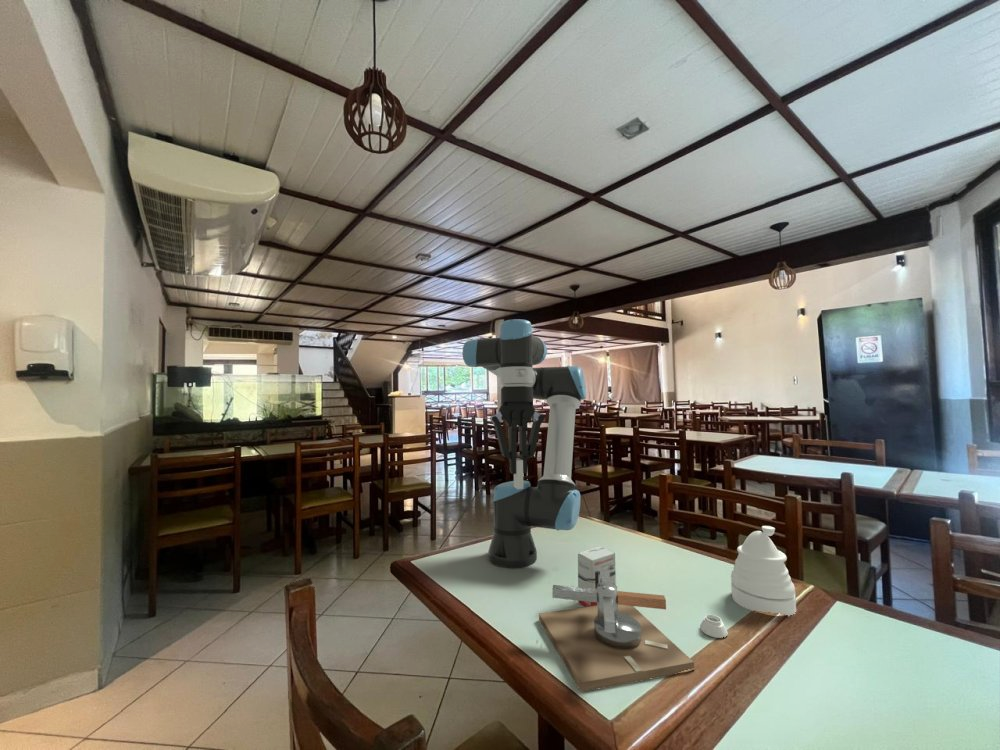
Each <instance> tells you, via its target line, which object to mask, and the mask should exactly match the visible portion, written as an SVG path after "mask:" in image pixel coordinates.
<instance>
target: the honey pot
mask: <svg viewBox="0 0 1000 750" xmlns="http://www.w3.org/2000/svg"><path fill="white" fill-rule="evenodd" d="M761 529H762V531H761V530H754V531H752V532H750V534H749V535H748V536H747V537H745V538H746V539H745V540H744V542H743V544H741V545H739V546H737V549H736V551H737V552H738V555H737V558H735V559H734V561H735V562H734V564H733V570H731V574H730V581H731V582H730V587H731V598H732V600H733V601H734V602H735V603H736V604H737V603H738V605H739V606H740V607H742V608H744V607H745V608H744V609H746V608H748V609H750V610H756V611H762V612H771V613H780V614H785V615H788V617H791V616H790V615H792V616H794V615H795V614H796V613H797V601H796V587H795V584H794V583H793V582H792V578H791V576H790V574H789V570H788V568H787V567H786V565H785V562H786V561H788V560H787V559H788V557H787V555H786V554H785V553H784V552H782V551H781V550H779V549H777V547H776V545H775V544H774V542H773V541H772V539H771V538H770V537H771V536H773V535H774V534H775V531H776V528H775V527H773V526H771V525H762V526H761ZM748 609H747V610H748ZM750 610H749V611H750ZM795 612H796V613H795ZM793 614H794V615H793Z"/></svg>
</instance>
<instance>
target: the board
mask: <svg viewBox="0 0 1000 750" xmlns="http://www.w3.org/2000/svg"><path fill="white" fill-rule="evenodd" d="M618 612H619V613H623V614H626V615H629V616H631V617H633V618H634V619H636V620H637V621H638V622H639V624H640V626H641V642H640V643H639V644H638V645H637V646H635V647H632V648H616V647H612V646H609V645H607V644H605V643H603V642H601V641H600V640H599V639H598V638H597V637H596V635H595V631H594V619H595V617H596V616H597V615H598V611H597V606H590V607H585V606H583V607H578V608H569V609H563V610H562V609H561V610H556V611H554V610H553V611H547V612H540V613H538V620H539V621H538V622H539V623H540V625H541V626H542V628H543V629H544V631H545V633H546V635H547V637H548V638H549V639H550V641H551V644H552V645H553V647H554V649H555V650H556V652H557V653H558V655H559V657H560V659H561V661H562V662H563V664H564V665H565V667H566V668H567V671H568V672H569V675H571V678H572V679H573V681H574V683H575V685H576V686H577V688H578V687H579V688H578V689H580V690H579V691H580V693H583V692H582V691H584V692H588V691H587V690H590V691H594V690H593V689H595V690H599V689H598V688H600V689H604V688H603V687H606V688H611V687H615V686H621V685H627V684H630V683H636V681H637V682H641V680H643V681H646V680H647V679H648V680H651V679H650V678H653V679H656V678H657V677H659V678H662V676H663V677H667V675H669V676H672V675H671V674H675V673H678V672H681V671H684V670H688V669H692V668H694V669H695V662H694V660H692V659H691V658H690V657H689V656H688V655H687V653H685V652H684V651H683V650H681V648H680V647H679V646H677V645H676V644H675V643H674V642H673V641H672V640H671V639H670V638H669V637H667V636H666V635H665V634H664V633H663V632H662V631H661V630H659V628H658V627H656V626H655V624H653V623H652V622H651V621H650V620H649V619H648V618H647V617H646V616H644V615H643V613H641V611H639V610H638V609H637V608H636V606H627V605H618ZM675 675H676V674H675ZM657 679H658V678H657ZM610 686H611V687H610Z"/></svg>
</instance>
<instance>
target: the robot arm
mask: <svg viewBox="0 0 1000 750" xmlns="http://www.w3.org/2000/svg"><path fill="white" fill-rule="evenodd" d="M499 329H500V331H499V337H490V338H489V337H486V338H475V339H469V340H466V341H465V342H464V344H463V346H462V360H463V362H464V363H465V365H466V366H467V367H471V368H477V367H481V368H483V369H485V370H487V371H488V372H490V373H491V374H493V375H495V376H496V377H498V378H499V379H500V384H501V385H503V386H502V387H501V388H500V404H501V405H500V406H499V410H498V412H497V413H496V414H495V415H491V416H490V417H489V419H490V420H489V421H491V423H492V424H493V426H494V429H495V435H496V437H497V442H498V445H499V449H500V453H501V456H502V457H504V458H507V459H508V460H509V472H510V474H512V475H513V480H512V481H507V482H502V483H500V484H497V485H496V486H495V487H494V489H493V499H492V502H493V534H492V538H491V542H490V544H489V548H488V555H487V556H488V561H489V562H490V563H492V564H493V565H495V566H499V567H503V568H510V569H511V568H512V569H513V568H517V569H518V568H523V567H528V566H531V565H533V564H534V563H536V562H537V559H538V554H537V553H538V550H537V547H536V545H535V542H534V538H533V535H532V529H531V528H542V529H550V530H556V531H570V530H573V529H574V528H575V526H576V525H577V522H578V519H579V517H580V516H579V515H580V510H581V499H582V498H581V493H580V491H579V490H577V489H576V484H575V482H574V481H573V480H572V469H573V454H574V453H573V452H574V440H575V439H574V438H575V437H574V436H575V422H576V410H577V409H579V407H580V406H581V401H584V400H585V399H586V398H587V387H586V381H585V376H584V372H583V370H582V368H581V367H580V366H575V365H574V366H572V365H567V366H547V367H545V366H543V367H533V366H535V365H536V366H537V365H539V364H541V363H542V362H544V360H545V359H546V357H547V353H548V349H547V346H546V343H545V342H544V340H542V339H541V338H540V337H538V336H535V335H534V334H533V329H532V323H531V321H529V320H526V319H519V318H517V319H516V318H515V319H507V320H504V321H502V322H501V324H500V328H499ZM534 399H535V400H541V401H542V400H544V401H545V400H546V401H545V402H546V404H547V405H548V406H549V414H548V415H549V417H548V426H547V435H546V436H547V437H546V446H545V456H544V466H543V475H542V477H540V478H539V479H538V480H537V486H535V487H534V486H531V485H532V484H531V481H529V480H524V474H527V473H528V459H529V458H531V457H534V456H535V455H536V450H537V446H538V445H537V443H538V440H539V435H540V429H541V426H542V423H543V422H544V420H545V416H544V415H543V414H540V413H539V412H537V411H536V408H535V405H534ZM502 419H503V420H504V422H505V423H506V424H507V429H508V443H507V440H506V436H505V432H504V429H503V425H502V422H503V420H502ZM531 419H532V424H531V429H530V434H529V439H528V429H529V428H528V423H529V422H530V421H531ZM517 429H518V443H517ZM517 444H518V446H519V447H517ZM517 448H518V449H517ZM517 450H519V455H518V454H517ZM517 456H519V458H517Z"/></svg>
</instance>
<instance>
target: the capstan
mask: <svg viewBox="0 0 1000 750" xmlns="http://www.w3.org/2000/svg"><path fill="white" fill-rule="evenodd" d="M601 581H602V582H600V583H598V584H597V589H592V588H581V587H578V586H572V585H571V586H569V585H568V586H567V585H559V584H553V585H552V590H551V591H552V598H553V599H560V600H570V601H578V600H579V601H588V602H597V611H598V615H597V616H596V617H595V619H594V631H595V635H596V637H597V638H598V639H599V640H600V641H601V642H603V643H605V644H607V645H609V646H612V647H616V648H632V647H635V646H637V645H638V644H639V643H640V642H641V626H640V624H639V622H638V621H637V620H636V619H634V618H633V617H631V616H629V615H626V614H623V613H619V612H618V605H627V606H634V607H637V608H650V609H657V610H658V609H659V610H667V601H666V597H665V595H663V594H653V593H642V592H641V593H640V592H632V591H623V590H622V591H621V590H618V586H617V585H615V584H613V583H611V582H610V573H609V570H608V569H601Z"/></svg>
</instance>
